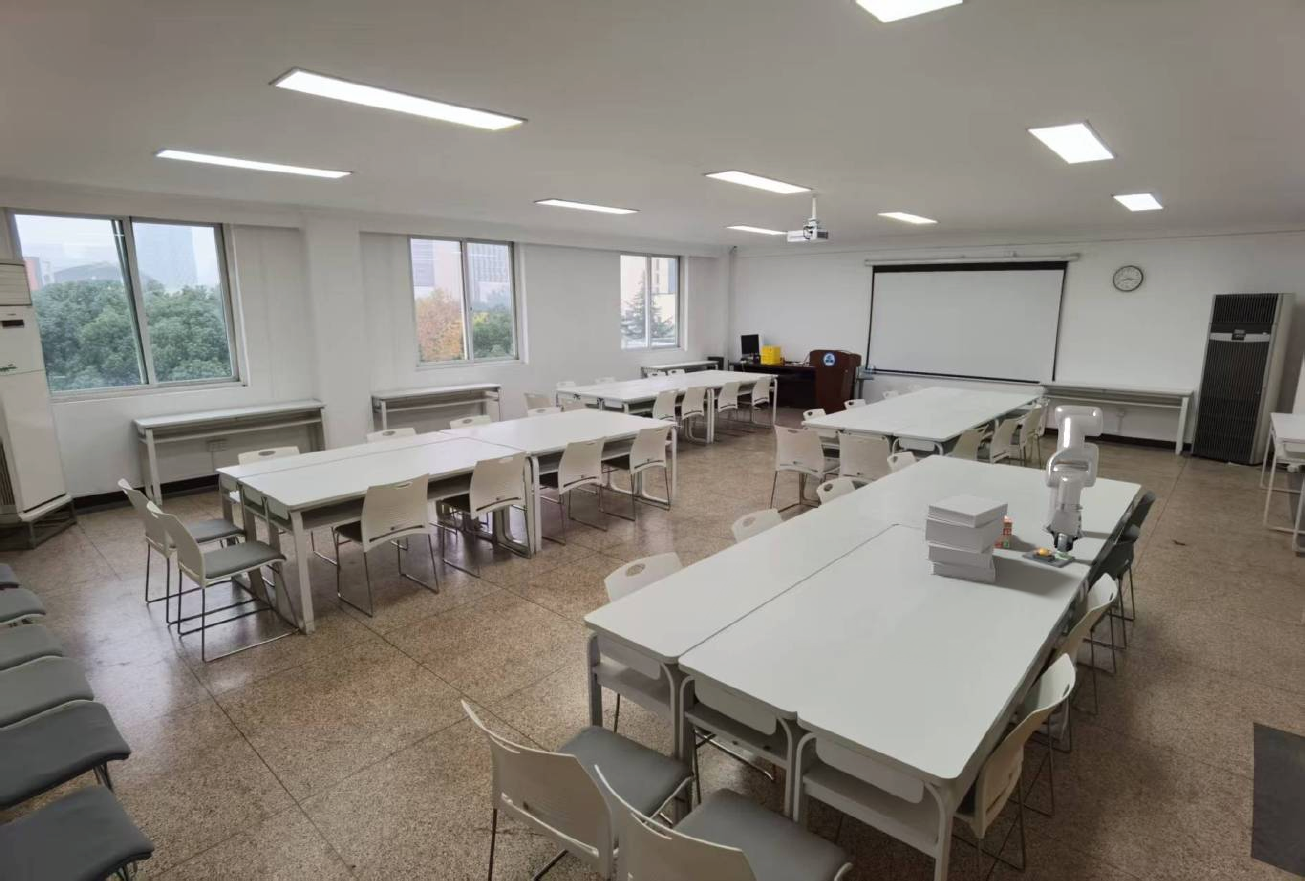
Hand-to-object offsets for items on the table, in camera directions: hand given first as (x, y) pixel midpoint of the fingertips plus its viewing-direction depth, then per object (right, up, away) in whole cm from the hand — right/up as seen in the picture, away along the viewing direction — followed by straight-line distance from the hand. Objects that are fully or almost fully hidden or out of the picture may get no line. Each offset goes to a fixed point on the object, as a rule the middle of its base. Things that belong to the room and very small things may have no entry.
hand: (1062, 548), depth 269 cm
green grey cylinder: (0, -2, 0) cm, 2 cm away
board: (-5, -4, +2) cm, 7 cm away
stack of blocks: (-16, 0, +24) cm, 29 cm away
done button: (-9, -2, -1) cm, 9 cm away
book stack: (-44, -6, -4) cm, 44 cm away
